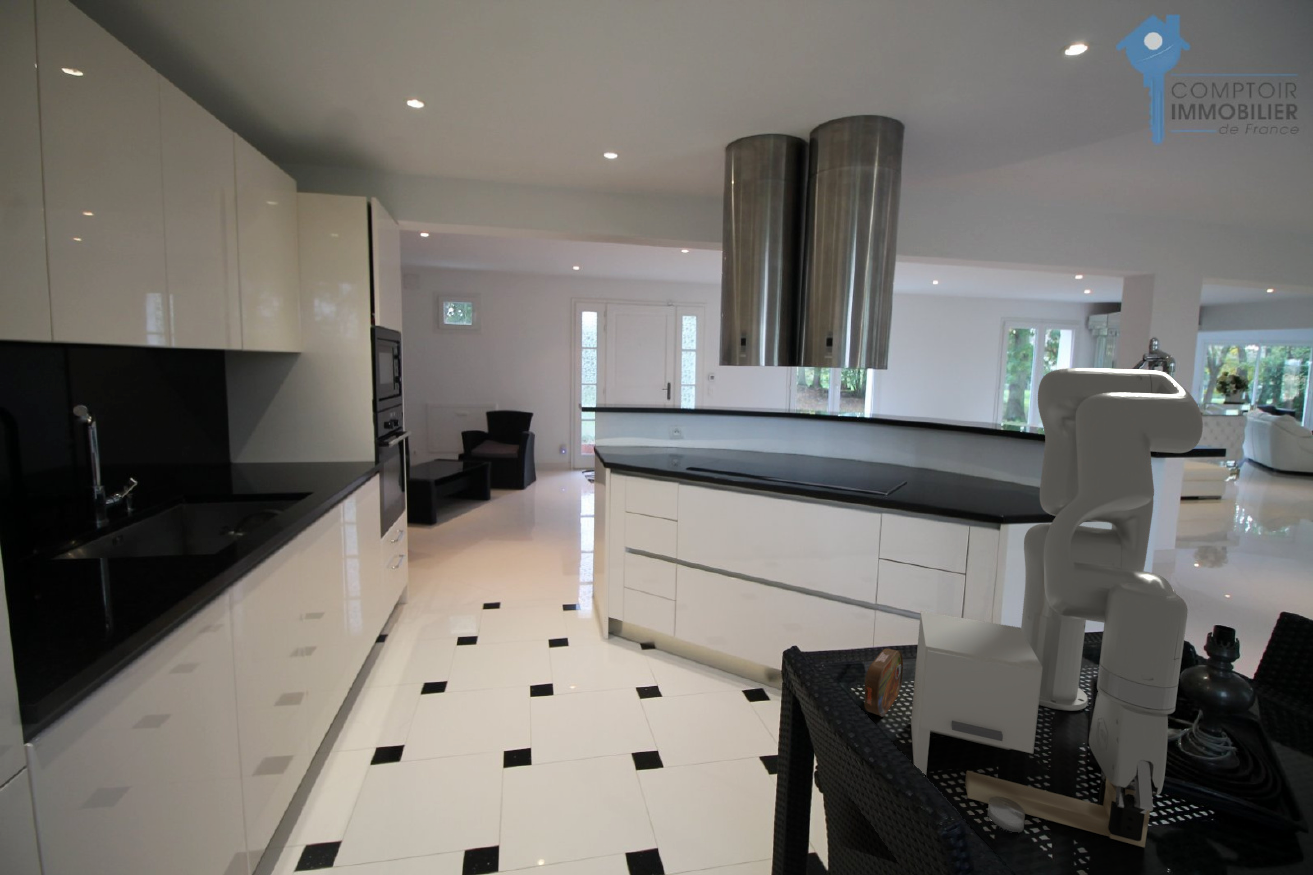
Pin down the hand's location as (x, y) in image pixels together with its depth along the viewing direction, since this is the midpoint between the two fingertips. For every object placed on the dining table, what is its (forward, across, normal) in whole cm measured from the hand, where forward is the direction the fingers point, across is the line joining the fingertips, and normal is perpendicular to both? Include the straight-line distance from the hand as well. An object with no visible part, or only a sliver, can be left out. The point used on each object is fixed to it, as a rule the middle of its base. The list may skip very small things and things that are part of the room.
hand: (1118, 824), depth 74 cm
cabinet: (+1, -8, -16) cm, 19 cm away
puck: (+1, +4, -13) cm, 14 cm away
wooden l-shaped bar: (+1, 0, -7) cm, 8 cm away
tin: (+2, -20, -28) cm, 34 cm away
